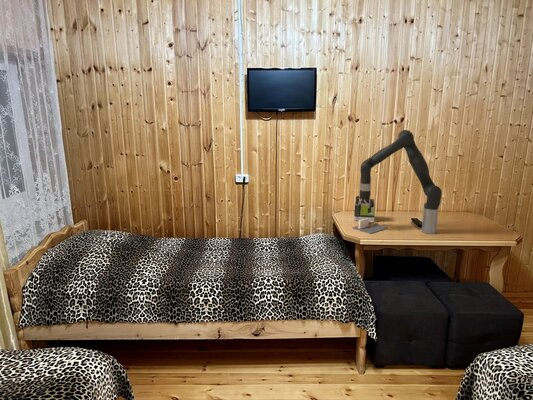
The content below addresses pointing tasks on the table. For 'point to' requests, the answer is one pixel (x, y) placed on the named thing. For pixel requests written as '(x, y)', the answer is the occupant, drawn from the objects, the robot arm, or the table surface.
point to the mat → (371, 229)
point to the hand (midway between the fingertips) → (364, 211)
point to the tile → (363, 223)
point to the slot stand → (372, 223)
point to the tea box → (364, 212)
